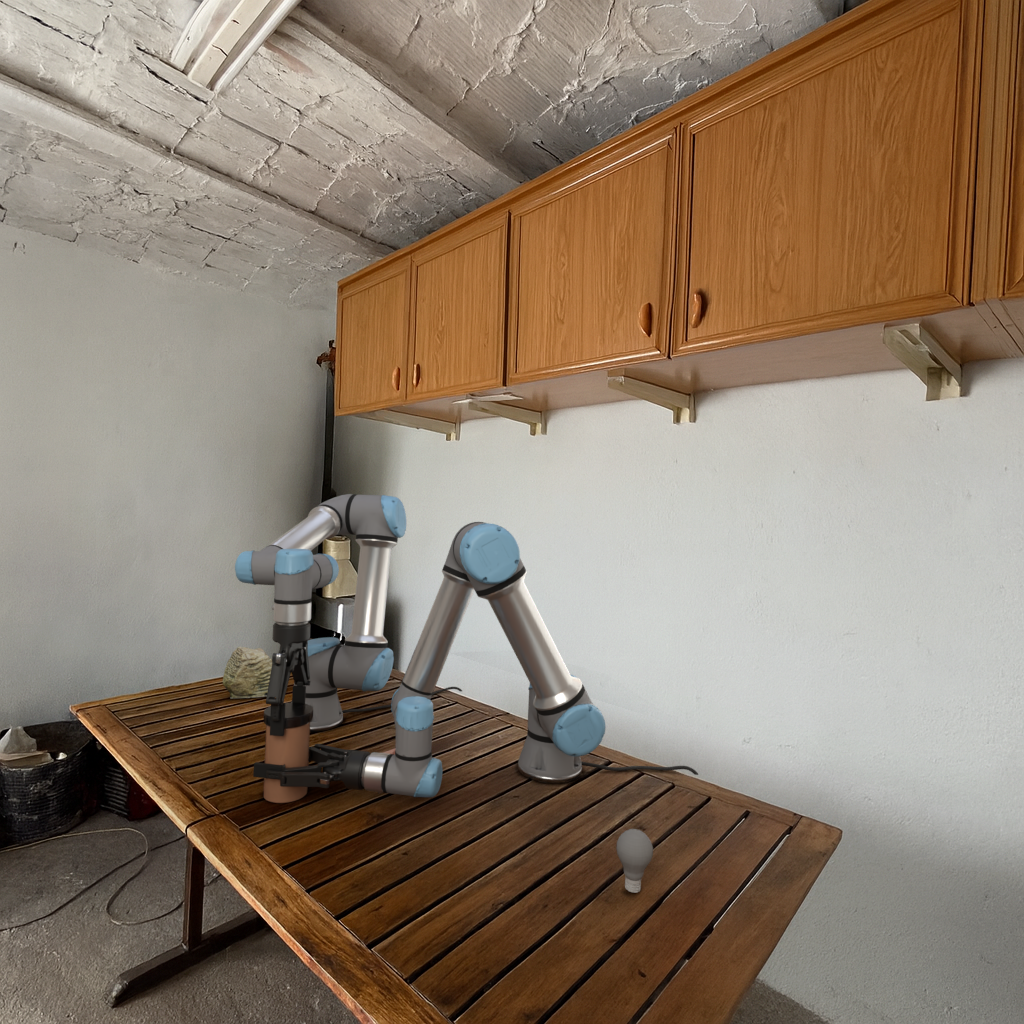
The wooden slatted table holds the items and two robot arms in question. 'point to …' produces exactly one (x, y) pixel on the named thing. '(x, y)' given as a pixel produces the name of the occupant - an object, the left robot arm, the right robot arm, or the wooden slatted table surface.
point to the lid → (293, 714)
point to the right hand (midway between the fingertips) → (266, 760)
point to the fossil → (247, 673)
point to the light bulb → (634, 857)
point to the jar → (286, 761)
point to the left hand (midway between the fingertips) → (288, 725)
